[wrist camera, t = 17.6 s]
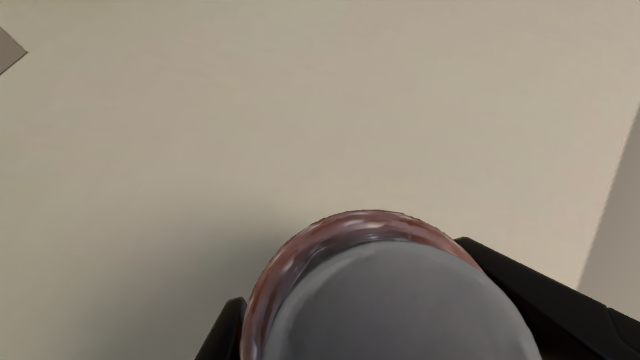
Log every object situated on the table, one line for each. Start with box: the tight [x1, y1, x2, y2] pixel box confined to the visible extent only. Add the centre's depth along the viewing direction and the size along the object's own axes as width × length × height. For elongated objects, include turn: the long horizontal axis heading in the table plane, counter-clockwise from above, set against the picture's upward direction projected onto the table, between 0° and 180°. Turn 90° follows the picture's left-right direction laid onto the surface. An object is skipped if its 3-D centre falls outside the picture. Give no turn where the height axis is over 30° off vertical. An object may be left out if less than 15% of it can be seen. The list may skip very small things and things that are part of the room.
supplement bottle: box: [240, 210, 542, 360], centre depth 10 cm, size 6×6×11 cm
